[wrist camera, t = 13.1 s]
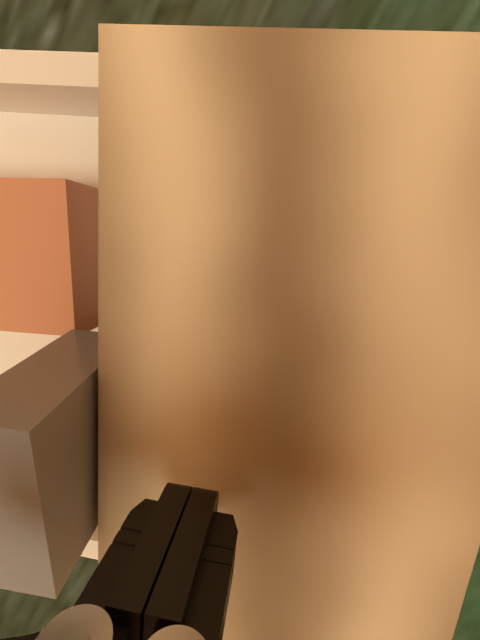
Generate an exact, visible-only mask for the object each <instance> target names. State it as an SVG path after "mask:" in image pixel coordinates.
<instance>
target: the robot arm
mask: <svg viewBox="0 0 480 640" xmlns="http://www.w3.org/2000/svg"><path fill="white" fill-rule="evenodd" d="M218 500H219V491H214V490H209V489H203V488H198V487H194V488H193V487H191V486H186V485H180V484H175V483H169V482H168V483H167V484H166V486H165V488H164V490H163V492H162V494H161V496H160V498H159V500H158V501H156V500H151V499H146V498H145V499H144V500H143V501H142V502H140V503H139V504H138V505H137V506H136V507H134V508H133V509H132V510H131V511H130V512H129V514H128V516H127V517H126V519H125V521H124V522H123V524H122V526H121V529H120V530H119V531H118V532H117V534H116V536H115V538H114V539H113V542H112V544H110V546H109V548H108V549H107V551H106V553H105V555H104V556H103V558H102V560H101V561H100V563H99V565H98V566H97V568H96V570H95V571H94V573H93V575H92V577H91V578H90V580H89V582H88V583H87V585H86V587H85V588H84V590H83V592H82V593H81V595H80V597H79V599H78V600H77V602H76V603H75V605H74V606H73V607H70V608H68V609H66V610H64V611H62V612H61V613H59V614H58V615H56V616H55V617H54V618H53V619H52V620H50V621H49V622H48V623H47V624H46V626H45V627H44V628H43V629H42V631H40V632H37V633H34V634H30V635H26V636H20V637H13V638H6V639H0V640H222V638H223V632H224V626H225V620H226V614H227V608H228V602H229V596H230V590H231V584H232V578H233V570H234V561H235V553H236V544H237V535H238V530H237V526H236V523H235V520H234V516H233V515H231V514H226V513H221V512H217V510H218Z"/></svg>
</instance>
